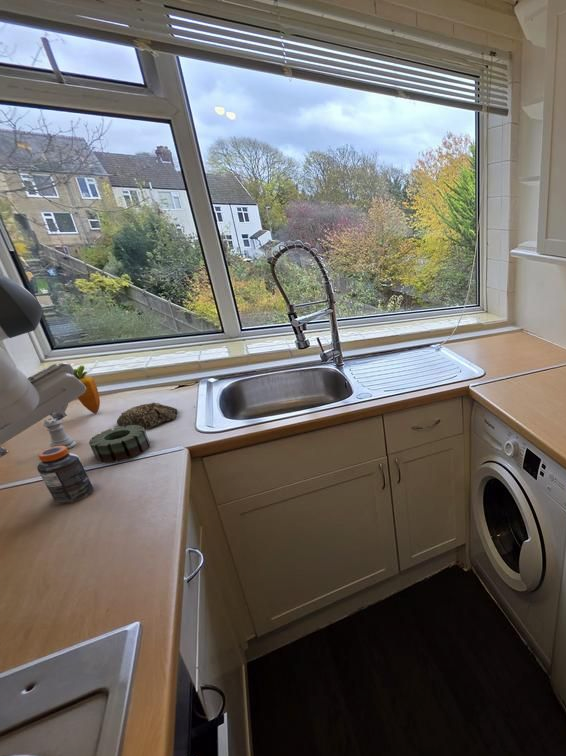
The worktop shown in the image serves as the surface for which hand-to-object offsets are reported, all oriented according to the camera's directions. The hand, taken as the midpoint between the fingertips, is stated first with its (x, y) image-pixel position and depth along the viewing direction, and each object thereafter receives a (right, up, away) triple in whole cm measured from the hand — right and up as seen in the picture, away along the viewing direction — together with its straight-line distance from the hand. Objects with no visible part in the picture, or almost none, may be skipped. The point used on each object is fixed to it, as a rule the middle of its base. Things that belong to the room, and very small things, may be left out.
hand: (31, 434), depth 75 cm
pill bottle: (-4, -15, +12) cm, 19 cm away
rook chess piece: (-25, -7, +28) cm, 38 cm away
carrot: (-34, 0, +45) cm, 56 cm away
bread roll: (-15, -1, +42) cm, 45 cm away
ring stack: (-9, -8, +27) cm, 29 cm away
